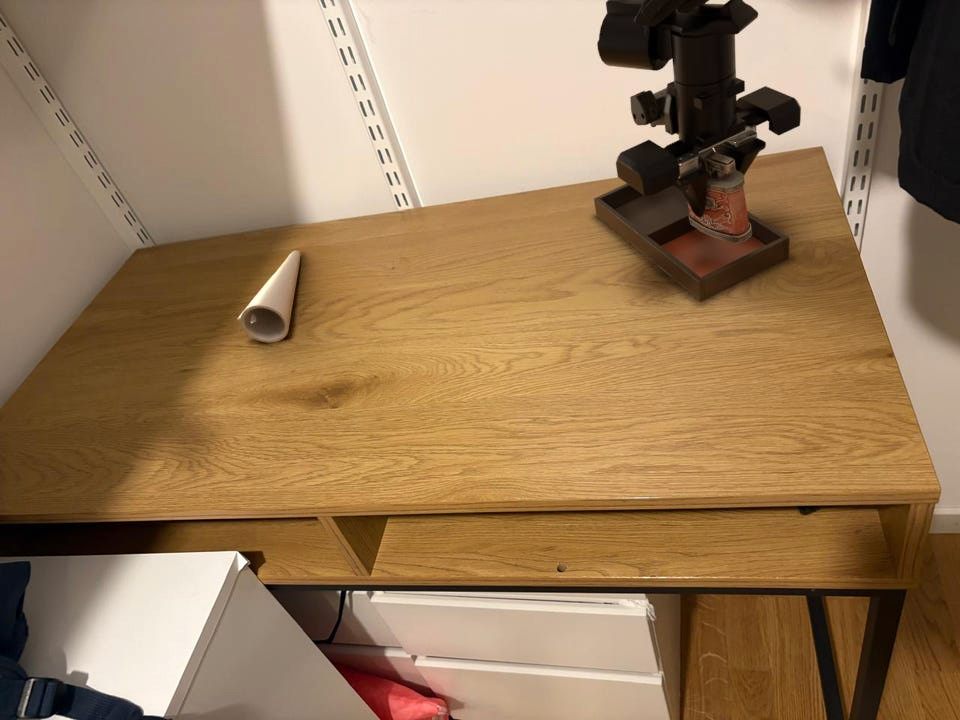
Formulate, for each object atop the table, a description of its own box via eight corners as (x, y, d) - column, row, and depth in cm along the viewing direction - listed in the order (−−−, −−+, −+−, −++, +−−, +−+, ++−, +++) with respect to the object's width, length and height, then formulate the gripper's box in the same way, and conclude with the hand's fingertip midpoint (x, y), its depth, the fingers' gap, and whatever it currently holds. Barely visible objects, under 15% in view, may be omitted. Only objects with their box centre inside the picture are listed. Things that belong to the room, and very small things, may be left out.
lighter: (683, 224, 86) (666, 151, 79) (703, 207, 87) (689, 133, 80) (737, 247, 80) (725, 171, 73) (759, 229, 81) (748, 152, 74)
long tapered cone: (339, 259, 109) (296, 337, 94) (302, 269, 111) (254, 347, 96) (321, 225, 106) (274, 300, 91) (283, 236, 108) (231, 311, 93)
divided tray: (672, 182, 99) (670, 162, 97) (789, 258, 83) (789, 237, 81) (596, 217, 98) (593, 198, 96) (700, 302, 81) (699, 282, 79)
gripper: (733, 18, 79) (736, 151, 89) (579, 86, 76) (601, 214, 86) (807, 43, 70) (801, 186, 81) (638, 120, 68) (654, 257, 78)
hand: (711, 209), depth 82 cm, fingers closed on lighter, 3 cm apart
